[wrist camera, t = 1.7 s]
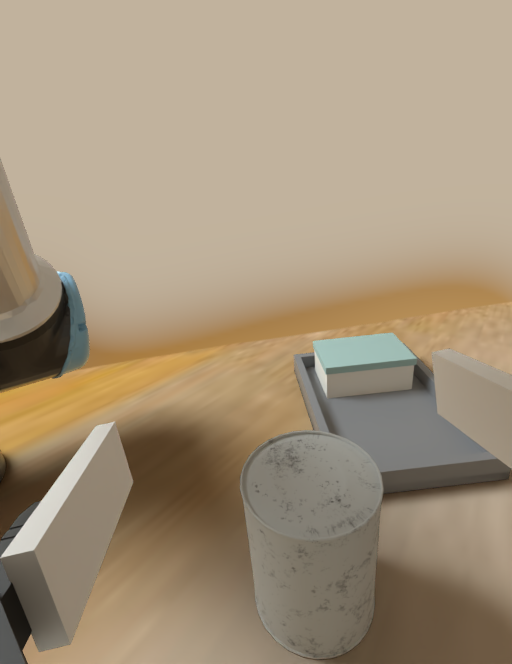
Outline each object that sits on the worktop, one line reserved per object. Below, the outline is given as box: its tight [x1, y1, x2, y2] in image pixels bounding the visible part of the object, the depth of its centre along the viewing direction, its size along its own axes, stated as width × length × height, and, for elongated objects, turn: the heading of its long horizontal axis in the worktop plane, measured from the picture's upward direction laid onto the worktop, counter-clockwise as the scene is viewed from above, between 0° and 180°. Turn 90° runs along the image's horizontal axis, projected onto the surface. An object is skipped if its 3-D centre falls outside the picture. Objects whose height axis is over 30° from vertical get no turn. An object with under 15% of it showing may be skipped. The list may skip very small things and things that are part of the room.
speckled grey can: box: [240, 430, 384, 659], centre depth 28 cm, size 10×10×12 cm
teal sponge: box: [313, 333, 417, 398], centre depth 56 cm, size 8×12×5 cm
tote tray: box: [294, 343, 511, 494], centre depth 50 cm, size 26×18×3 cm
